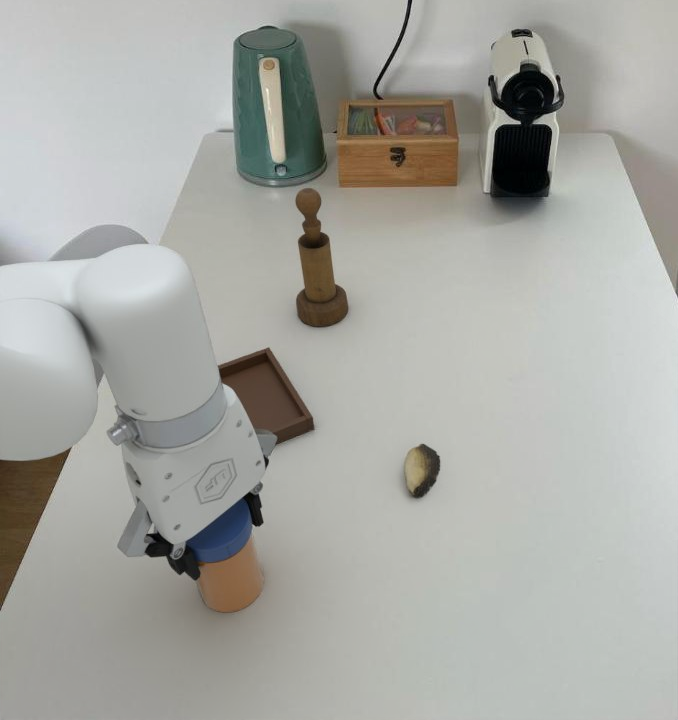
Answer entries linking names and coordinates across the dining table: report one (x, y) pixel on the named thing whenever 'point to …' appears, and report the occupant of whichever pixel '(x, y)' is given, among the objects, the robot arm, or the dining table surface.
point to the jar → (232, 580)
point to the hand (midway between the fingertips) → (219, 541)
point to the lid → (223, 534)
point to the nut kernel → (421, 469)
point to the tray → (267, 394)
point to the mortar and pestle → (317, 268)
